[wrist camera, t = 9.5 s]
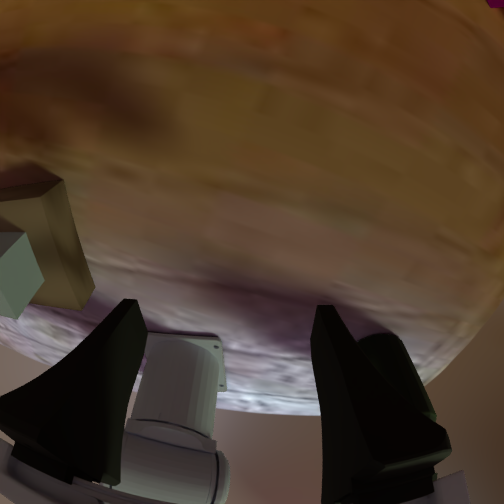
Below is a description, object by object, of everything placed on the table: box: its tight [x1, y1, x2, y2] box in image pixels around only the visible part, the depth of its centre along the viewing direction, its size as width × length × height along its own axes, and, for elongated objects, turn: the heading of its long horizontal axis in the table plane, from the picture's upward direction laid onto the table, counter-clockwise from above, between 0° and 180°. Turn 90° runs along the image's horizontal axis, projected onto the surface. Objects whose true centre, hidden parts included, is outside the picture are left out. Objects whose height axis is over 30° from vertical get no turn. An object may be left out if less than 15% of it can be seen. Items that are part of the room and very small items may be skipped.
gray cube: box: [0, 232, 45, 319], centre depth 17 cm, size 4×4×4 cm
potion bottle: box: [357, 334, 437, 481], centre depth 20 cm, size 8×8×18 cm
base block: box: [0, 180, 95, 311], centre depth 20 cm, size 10×10×3 cm
